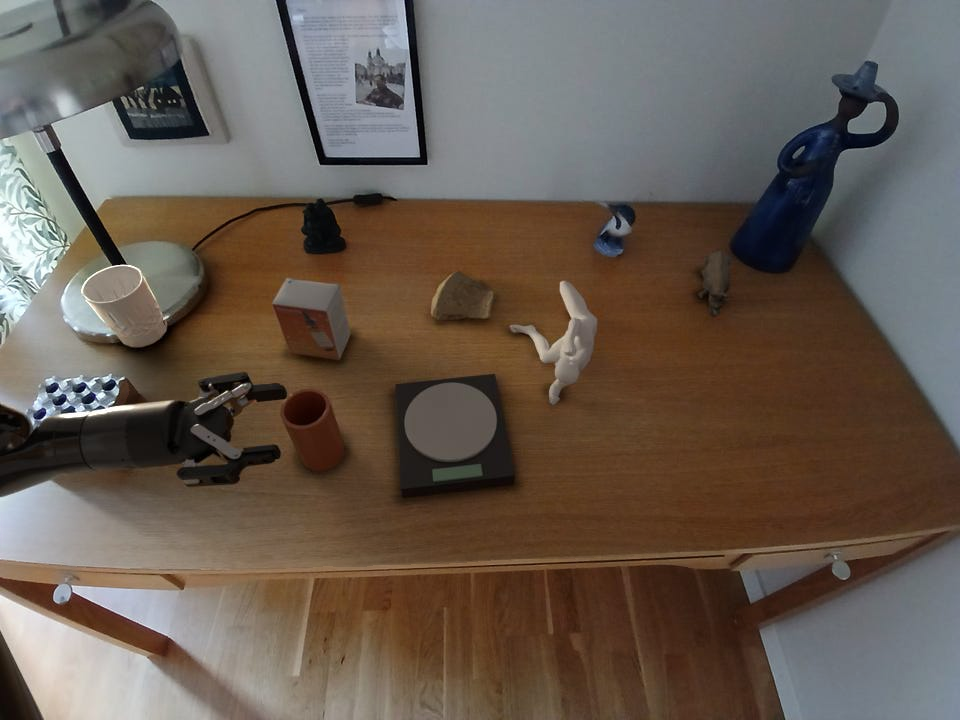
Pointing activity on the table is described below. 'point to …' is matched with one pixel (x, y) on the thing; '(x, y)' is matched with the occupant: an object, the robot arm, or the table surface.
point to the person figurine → (566, 341)
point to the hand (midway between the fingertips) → (282, 420)
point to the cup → (313, 429)
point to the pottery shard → (462, 299)
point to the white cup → (126, 305)
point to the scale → (452, 436)
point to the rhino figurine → (716, 280)
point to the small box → (312, 318)
